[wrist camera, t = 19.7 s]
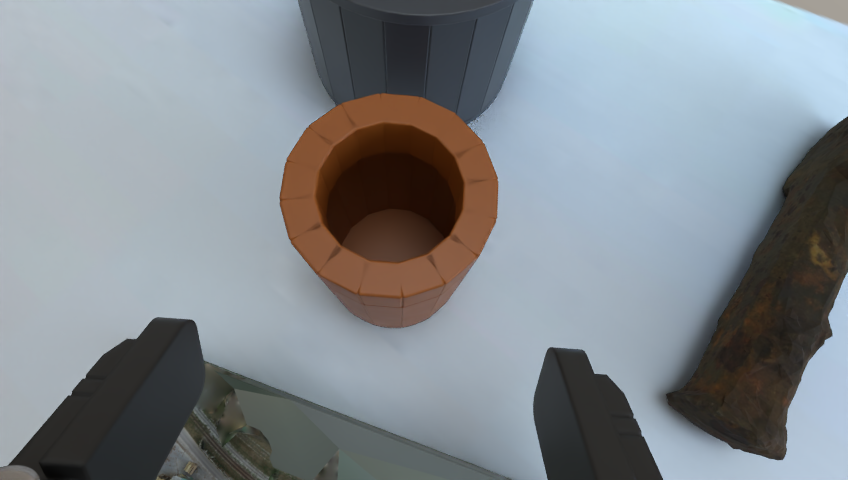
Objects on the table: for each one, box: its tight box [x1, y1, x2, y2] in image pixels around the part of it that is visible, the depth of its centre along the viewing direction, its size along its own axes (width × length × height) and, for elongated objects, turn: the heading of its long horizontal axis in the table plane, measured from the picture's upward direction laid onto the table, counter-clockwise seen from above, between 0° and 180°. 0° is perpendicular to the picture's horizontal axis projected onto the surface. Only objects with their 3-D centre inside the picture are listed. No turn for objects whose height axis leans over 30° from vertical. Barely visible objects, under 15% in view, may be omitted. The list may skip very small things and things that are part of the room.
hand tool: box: [666, 117, 848, 460], centre depth 22 cm, size 19×4×5 cm, turn 143°
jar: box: [280, 93, 498, 328], centre depth 18 cm, size 6×6×10 cm
